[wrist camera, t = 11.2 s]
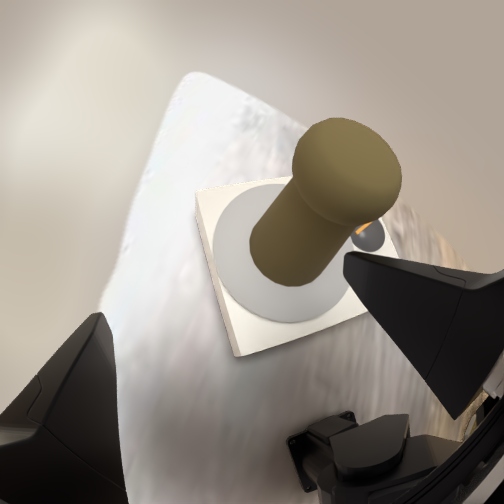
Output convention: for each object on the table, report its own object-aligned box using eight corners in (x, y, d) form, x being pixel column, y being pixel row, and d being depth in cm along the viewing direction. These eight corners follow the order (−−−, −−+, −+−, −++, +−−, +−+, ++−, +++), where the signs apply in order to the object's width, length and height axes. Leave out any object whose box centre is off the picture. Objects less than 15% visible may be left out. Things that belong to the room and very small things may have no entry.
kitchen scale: (386, 301, 25) (417, 288, 21) (234, 356, 21) (243, 356, 17) (340, 190, 29) (360, 165, 25) (195, 215, 25) (195, 184, 21)
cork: (284, 197, 22) (340, 87, 12) (341, 248, 21) (433, 164, 11) (231, 245, 19) (265, 128, 9) (295, 304, 19) (395, 240, 9)
